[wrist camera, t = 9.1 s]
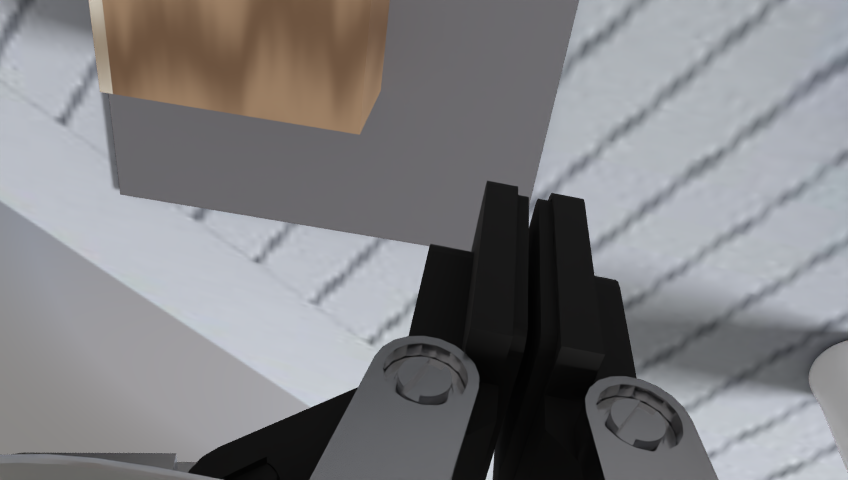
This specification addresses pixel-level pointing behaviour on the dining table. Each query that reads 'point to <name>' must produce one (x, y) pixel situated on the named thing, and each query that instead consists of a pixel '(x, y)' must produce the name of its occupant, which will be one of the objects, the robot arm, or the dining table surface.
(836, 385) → the drinking glass
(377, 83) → the wooden box
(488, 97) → the rubber mat
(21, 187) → the dining table surface
